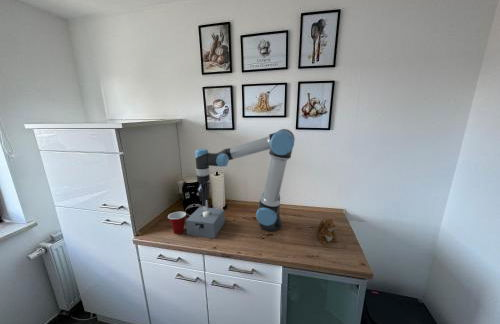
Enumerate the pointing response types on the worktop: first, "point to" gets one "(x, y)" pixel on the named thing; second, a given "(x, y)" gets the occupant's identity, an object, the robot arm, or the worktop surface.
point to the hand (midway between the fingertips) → (205, 209)
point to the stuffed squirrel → (326, 231)
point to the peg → (206, 214)
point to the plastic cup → (177, 221)
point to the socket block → (205, 222)
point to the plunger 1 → (198, 227)
